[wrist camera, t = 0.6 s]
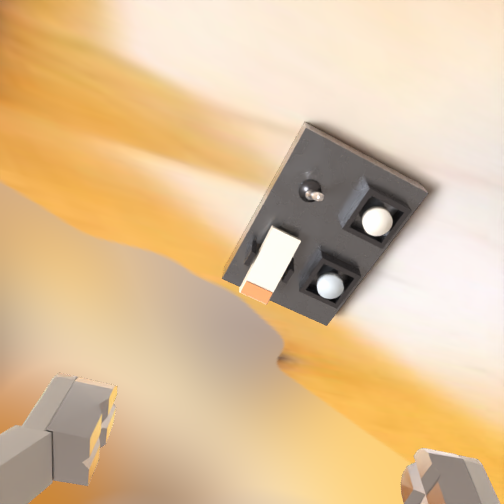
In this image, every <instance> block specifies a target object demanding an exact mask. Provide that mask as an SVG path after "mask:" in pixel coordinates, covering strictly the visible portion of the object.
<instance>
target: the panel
mask: <svg viewBox="0 0 504 504" xmlns="http://www.w3.org/2000/svg"><path fill="white" fill-rule="evenodd" d="M310 189H312V190H314V191H315V192H319V193H322V194H323V195H324V199H323V200H322V201H316V200H308V199H307V198H306V197H305V193H306V191H307V190H310ZM427 194H428V192H427V191H426V190H425V188H424V187H423V186H422V185H421V184H420V183H418V182H416V181H414V180H412V179H410V178H409V177H407V176H405V175H403V174H401V173H399V172H397V171H396V170H394V169H392V168H390V167H388V166H386V165H384V164H382V163H381V162H379V161H377V160H375V159H373V158H371V157H369V156H368V155H366V154H364V153H362V152H360V151H358V150H356V149H355V148H353V147H351V146H349V145H347V144H345V143H343V142H342V141H340V140H338V139H336V138H334V137H332V136H330V135H329V134H327V133H325V132H323V131H321V130H319V129H317V128H316V127H314V126H312V125H310V124H308V123H306V122H304V124H303V126H302V127H301V129H300V131H299V133H298V135H297V136H296V138H295V140H294V142H293V144H292V146H291V147H290V149H289V151H288V153H287V155H286V156H285V158H284V160H283V162H282V164H281V166H280V167H279V169H278V171H277V173H276V175H275V176H274V178H273V180H272V182H271V184H270V186H269V187H268V189H267V191H266V193H265V195H264V196H263V198H262V200H261V202H260V204H259V206H258V207H257V209H256V211H255V213H254V215H253V216H252V218H251V220H250V222H249V224H248V226H247V227H246V229H245V231H244V233H243V235H242V236H241V238H240V240H239V242H238V244H237V245H236V247H235V249H234V251H233V253H232V255H231V256H230V258H229V260H228V262H227V264H226V265H225V268H224V272H223V276H222V279H224V280H226V281H228V282H230V283H233V284H235V285H237V286H239V287H240V286H241V284H242V282H243V280H244V278H245V276H246V274H247V273H248V271H249V269H250V267H251V265H252V263H253V261H254V259H255V257H256V255H257V253H258V251H259V249H260V247H261V245H262V244H263V242H264V240H265V238H266V236H267V234H268V232H269V230H270V228H271V226H274V227H276V228H278V229H280V230H283V231H285V232H287V233H289V234H291V235H293V236H295V237H297V238H299V239H300V240H301V242H300V244H299V246H298V248H297V250H296V251H295V253H294V255H293V257H292V259H291V261H290V263H289V264H288V266H287V268H286V270H285V272H284V274H283V276H282V277H281V279H280V281H279V283H278V285H277V287H276V289H275V290H274V292H273V294H272V296H271V298H270V301H273V302H275V303H277V304H279V305H281V306H284V307H286V308H288V309H290V310H293V311H295V312H297V313H299V314H302V315H304V316H306V317H308V318H310V319H313V320H315V321H317V322H319V323H322V324H324V325H326V326H327V325H328V323H329V322H330V321H331V320H332V318H333V317H334V316H335V314H336V313H337V312H338V310H339V309H340V308H341V306H342V305H343V304H344V303H345V301H346V300H347V299H348V297H349V296H350V295H351V293H352V292H353V291H354V290H355V288H356V287H357V286H358V284H359V283H360V282H361V280H362V279H363V278H364V277H365V275H366V274H367V273H368V271H369V270H370V269H371V267H372V266H373V265H374V263H375V262H376V261H377V260H378V258H379V257H380V256H381V254H382V253H383V252H384V250H385V249H386V248H387V247H388V245H389V244H390V243H391V241H392V240H393V239H394V237H395V236H396V235H397V234H398V232H399V231H400V230H401V228H402V227H403V226H404V224H405V223H406V222H407V220H408V219H409V218H410V217H411V215H412V214H413V213H414V211H415V210H416V209H417V207H418V206H419V205H420V204H421V202H422V201H423V200H424V198H425V197H426V196H427ZM373 206H382V207H384V208H386V209H387V210H388V211H389V213H390V215H391V217H392V220H393V223H392V227H391V228H390V230H389V231H388V232H387V233H385V234H383V235H381V236H372V235H370V234H368V233H367V232H366V231H365V229H364V227H363V225H362V216H363V214H364V212H365V211H366V210H367V209H369V208H370V207H373ZM327 272H334V273H337V274H338V275H339V276H340V277H341V278H342V281H343V286H344V290H343V292H342V294H341V295H340V296H338V297H336V298H333V299H327V298H324V297H322V296H321V295H320V294H319V293H318V290H317V280H318V278H319V277H320V276H321V275H322V274H324V273H327Z"/></svg>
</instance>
